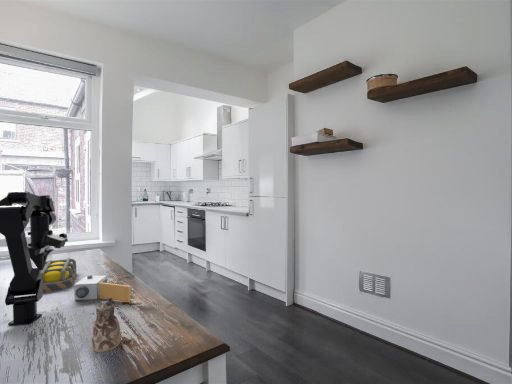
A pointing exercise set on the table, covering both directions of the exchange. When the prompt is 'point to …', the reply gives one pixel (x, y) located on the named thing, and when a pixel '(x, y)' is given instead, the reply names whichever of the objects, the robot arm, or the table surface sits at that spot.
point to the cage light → (58, 274)
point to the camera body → (88, 287)
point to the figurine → (106, 328)
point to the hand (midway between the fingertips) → (41, 270)
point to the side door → (113, 291)
